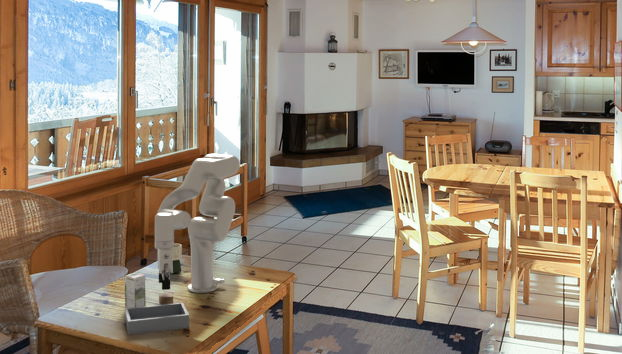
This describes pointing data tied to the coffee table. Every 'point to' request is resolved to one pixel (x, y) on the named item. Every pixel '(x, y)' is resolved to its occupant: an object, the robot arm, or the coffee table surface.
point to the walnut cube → (165, 298)
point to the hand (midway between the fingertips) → (164, 285)
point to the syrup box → (135, 290)
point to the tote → (156, 318)
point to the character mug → (176, 257)
